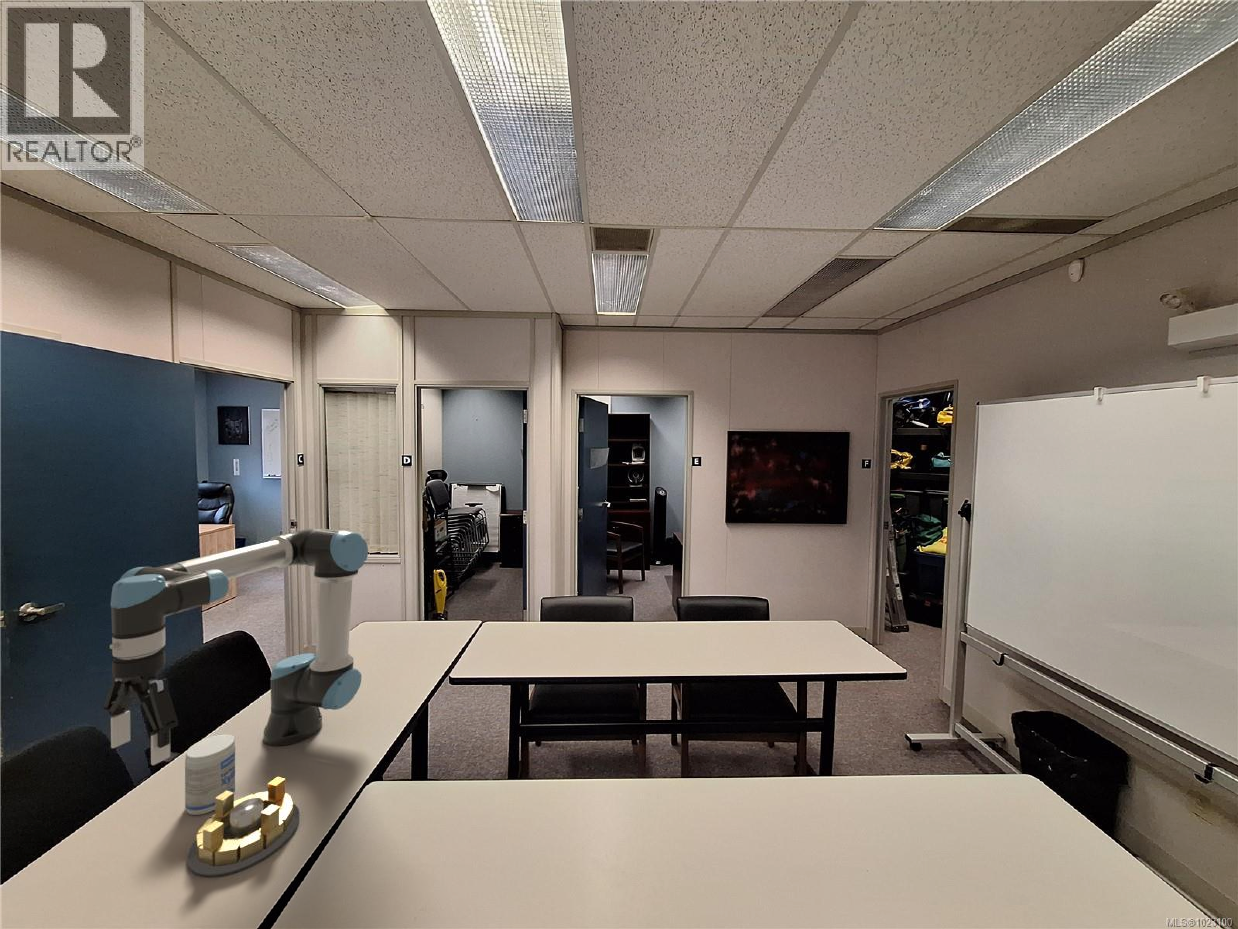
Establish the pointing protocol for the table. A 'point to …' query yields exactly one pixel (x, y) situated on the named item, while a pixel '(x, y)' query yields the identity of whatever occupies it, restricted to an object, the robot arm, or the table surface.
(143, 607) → the robot arm
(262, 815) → the yellow block ring
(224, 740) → the supplement tub
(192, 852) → the spindle base
